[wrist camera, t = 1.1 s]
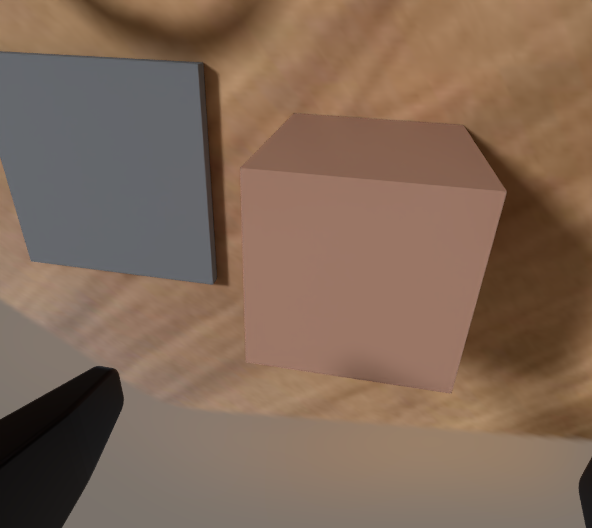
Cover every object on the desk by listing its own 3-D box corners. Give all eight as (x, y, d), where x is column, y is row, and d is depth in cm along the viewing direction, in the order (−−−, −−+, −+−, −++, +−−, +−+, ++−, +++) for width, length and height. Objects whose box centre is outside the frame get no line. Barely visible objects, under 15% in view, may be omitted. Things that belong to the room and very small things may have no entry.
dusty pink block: (463, 125, 17) (506, 191, 11) (432, 273, 20) (451, 393, 14) (293, 113, 18) (239, 167, 12) (289, 257, 21) (245, 362, 15)
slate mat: (203, 62, 18) (197, 64, 17) (217, 278, 23) (212, 284, 22) (-20, 50, 19) (-31, 51, 19) (38, 255, 24) (31, 261, 24)
